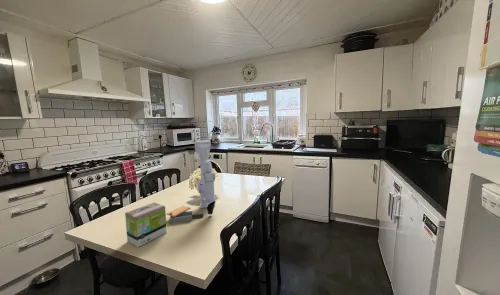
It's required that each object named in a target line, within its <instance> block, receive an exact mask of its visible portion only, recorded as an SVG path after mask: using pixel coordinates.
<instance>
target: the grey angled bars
mask: <svg viewBox="0 0 500 295" xmlns="http://www.w3.org/2000/svg"><path fill="white" fill-rule="evenodd" d="M192 215H193V211H192V210H187V211H185V212H183V213H181V214H179V215H177V216H175V217H173V216H169V224H170V225H172V224H177V223H178V224H180V223H185V222H192V221H193V218H192Z"/></svg>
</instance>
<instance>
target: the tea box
mask: <svg viewBox="0 0 500 295" xmlns="http://www.w3.org/2000/svg"><path fill="white" fill-rule="evenodd" d="M124 214H125V215H124V216H125V217H124V218H125V229H126V240H127V242H128V243H130V244H132V245H134V246H135V247H137V248H139V247H141V246H144V245H146V244H147V243H149V242H151V241H153V240H155V239H156V238H158V237H161V236H163V235H165V234H167V217H166V216H167V212H166V206H165V205H162V204H160V203H157V202H151V203H148V204H146V205H143V206H141V207H137V208H135V209H132V210H129V211H126V212H125V213H124Z"/></svg>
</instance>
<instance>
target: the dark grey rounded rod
mask: <svg viewBox="0 0 500 295" xmlns="http://www.w3.org/2000/svg"><path fill="white" fill-rule="evenodd" d="M204 216H205V215H204V213H202V212H201V213H194V214H193V213H192V219H199V218H203V217H204Z"/></svg>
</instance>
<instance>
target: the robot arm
mask: <svg viewBox="0 0 500 295" xmlns="http://www.w3.org/2000/svg"><path fill="white" fill-rule="evenodd" d="M211 146H212V144H211V141H210V140H209V139H208V140H195V141H194V151H195V154H197V155H198V157H199V166H200V177H201V178H200V179H199V180H198V181H197V192H198V193H199V195H200V204H199V205H200V209H205V208H206V210H207V213H208V215H213V214H214V207H216V194H215V180H216V179H215V178H216V177H215V176H216V175H215V172H214V170H213V165H212V162H211V161H210V160H209V157H210V156H209V153H210V151H211Z"/></svg>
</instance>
